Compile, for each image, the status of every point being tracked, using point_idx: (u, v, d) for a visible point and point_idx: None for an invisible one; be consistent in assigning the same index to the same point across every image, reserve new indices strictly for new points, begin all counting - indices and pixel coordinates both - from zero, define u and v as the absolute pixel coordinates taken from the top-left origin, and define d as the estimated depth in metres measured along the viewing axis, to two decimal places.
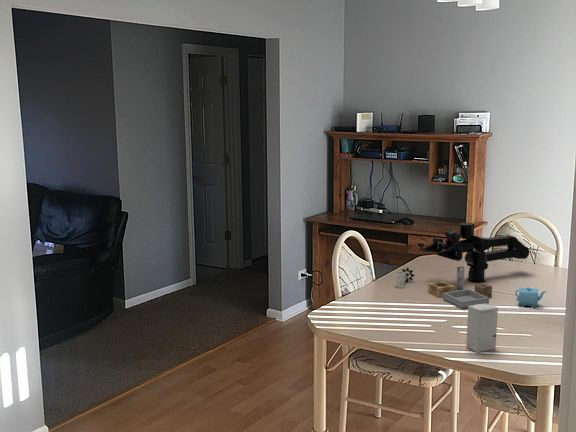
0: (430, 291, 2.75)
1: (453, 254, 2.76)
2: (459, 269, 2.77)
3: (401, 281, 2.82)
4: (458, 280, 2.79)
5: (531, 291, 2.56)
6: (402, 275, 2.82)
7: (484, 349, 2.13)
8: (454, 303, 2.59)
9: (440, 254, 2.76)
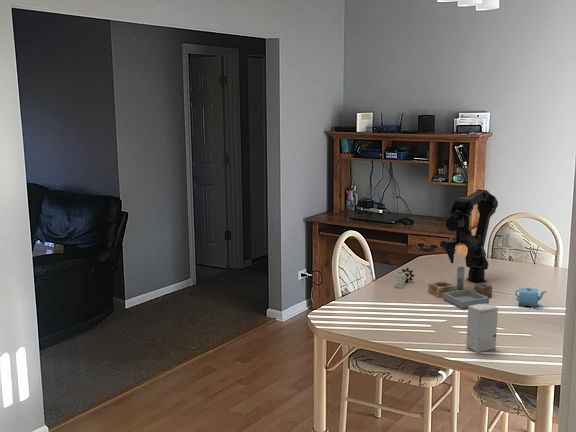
0: (430, 291, 2.75)
1: None
2: (459, 269, 2.77)
3: (401, 281, 2.82)
4: (458, 280, 2.79)
5: (531, 291, 2.56)
6: (402, 275, 2.82)
7: (484, 349, 2.13)
8: (454, 303, 2.59)
9: None
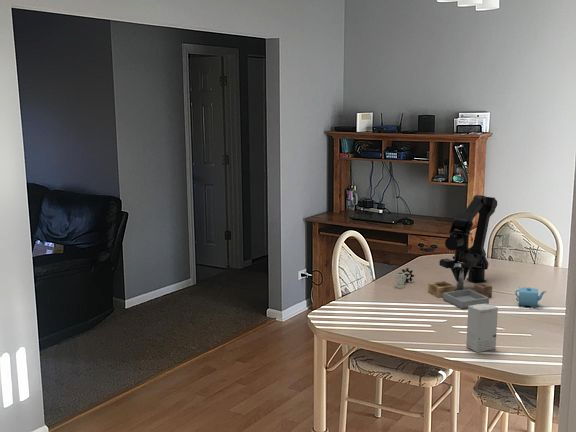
0: (430, 291, 2.75)
1: None
2: (459, 269, 2.77)
3: (401, 281, 2.82)
4: (458, 280, 2.79)
5: (531, 291, 2.56)
6: (402, 275, 2.82)
7: (484, 349, 2.13)
8: (454, 303, 2.59)
9: None
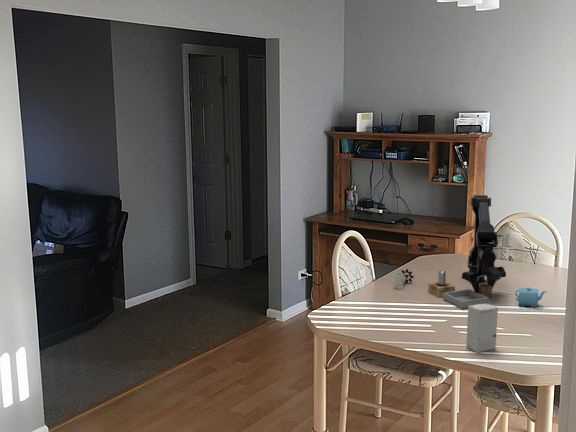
0: (430, 291, 2.75)
1: None
2: (440, 273, 2.72)
3: (400, 282, 2.80)
4: (439, 284, 2.73)
5: (531, 291, 2.56)
6: (401, 276, 2.80)
7: (484, 349, 2.13)
8: (454, 303, 2.59)
9: None
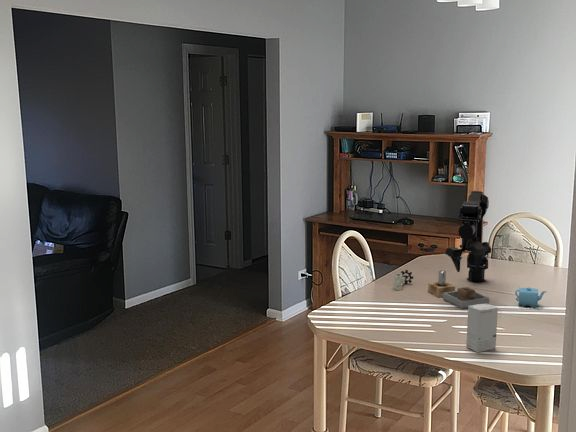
0: (430, 291, 2.75)
1: None
2: (440, 273, 2.72)
3: (399, 283, 2.79)
4: (439, 284, 2.73)
5: (531, 291, 2.56)
6: (400, 277, 2.79)
7: (484, 349, 2.13)
8: (454, 303, 2.59)
9: None
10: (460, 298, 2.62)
